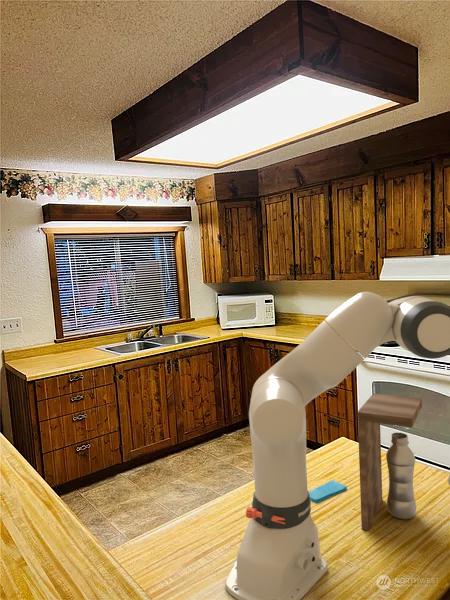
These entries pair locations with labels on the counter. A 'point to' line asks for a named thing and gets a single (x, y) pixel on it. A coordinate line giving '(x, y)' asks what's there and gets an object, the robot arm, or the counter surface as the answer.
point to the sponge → (326, 491)
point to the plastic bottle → (401, 478)
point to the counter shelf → (378, 444)
